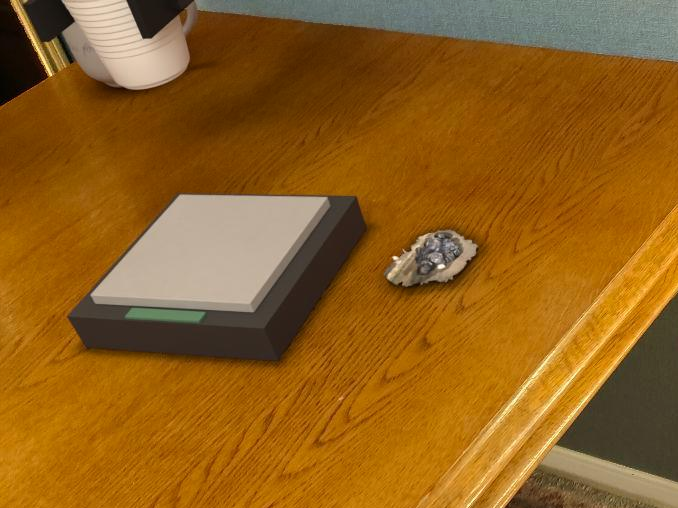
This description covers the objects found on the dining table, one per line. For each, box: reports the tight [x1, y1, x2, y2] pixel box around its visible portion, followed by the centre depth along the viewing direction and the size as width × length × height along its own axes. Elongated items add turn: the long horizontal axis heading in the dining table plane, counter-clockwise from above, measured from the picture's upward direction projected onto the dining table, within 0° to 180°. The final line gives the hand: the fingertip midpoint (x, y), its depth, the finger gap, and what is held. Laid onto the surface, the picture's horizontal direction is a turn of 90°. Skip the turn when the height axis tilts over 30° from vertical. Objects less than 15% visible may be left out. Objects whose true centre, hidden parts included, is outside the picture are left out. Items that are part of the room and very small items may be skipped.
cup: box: [62, 0, 191, 91], centre depth 76 cm, size 10×10×11 cm
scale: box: [66, 192, 367, 362], centre depth 74 cm, size 16×16×4 cm
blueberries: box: [382, 229, 479, 288], centre depth 72 cm, size 7×8×2 cm
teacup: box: [61, 0, 199, 88], centre depth 101 cm, size 14×11×8 cm
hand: (86, 21), depth 73 cm, fingers closed on cup, 8 cm apart
